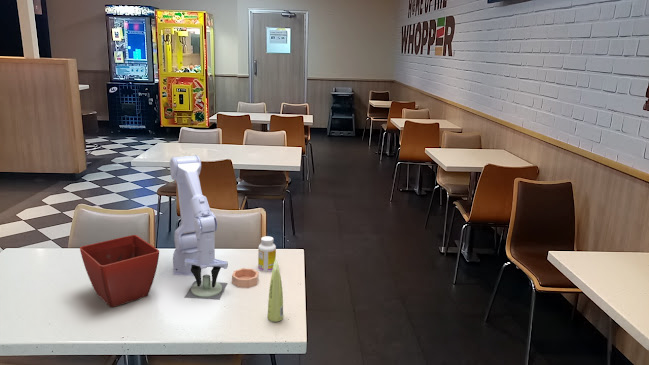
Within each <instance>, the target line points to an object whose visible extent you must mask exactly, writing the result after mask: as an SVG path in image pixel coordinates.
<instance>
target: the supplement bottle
mask: <svg viewBox="0 0 649 365" xmlns="http://www.w3.org/2000/svg"><path fill="white" fill-rule="evenodd" d="M257 251H258V255H257V256H258V257H257V259H258V261H257V262H258V264H257V267H258V270H259V271H260V272H263V273H270V272H271V273H272V270H273V265H274V261H275V257H276V258H277V255H276V254H277V246H276V244H275V243H274V237H272V236H268V235H267V236H265V235H264V236H262V237H261V238H260V243H259V245H258V250H257Z"/></svg>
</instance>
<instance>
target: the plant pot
mask: <svg viewBox="0 0 649 365" xmlns="http://www.w3.org/2000/svg"><path fill="white" fill-rule="evenodd" d="M79 252H80V255H81V258H82V262H83V264H84V268H85V271H86V274H87V276H88V278H89V281H90V283H91V286H92V287H93V289H94V290H93V291H94V292H95V293H96V295H97V296H99V297H100V299H102V301H103V302H104V303H105V304H106V305H107V306H108V307H110V308H114V307H117V306H121V305H123V304H127V303H131V302H134V301H136V300H137V301H138V300H139V299H142V298H144V297H147V296H148V295H149V294H150V292H151V288H152V285H153V283H154V280H155V277H156V272H157V269H158V263H159V256H160V250H159V249H158V248H156V247H154V246H153V245H152V244H151V243H148V241H146V240H145V239H143V238H141V237H140V236H138V235H137V234H131V235H127V236H123V237H118V238H114V239H108V240H105V241H100V242H95V243H92V244H87V245H86V244H85V245H82V246H80V247H79Z"/></svg>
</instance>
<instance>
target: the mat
mask: <svg viewBox="0 0 649 365" xmlns="http://www.w3.org/2000/svg"><path fill="white" fill-rule="evenodd" d="M193 281H194V282H193V283H192V285H190V288H189V289H188V291H187V292H186V294H185V295H184V298H187V299H202V300H213V301H214V300H215V301H218V300H219V301H220V300H221V298H222V296H223V293H224V291H225V289H226V287H227V285H228V282H218V281H217V282H218V283H220V284H221V286H222V291H221V292H220V293H219V294H218V295H215V296H212V297H197V296H195V295H193V294H192V292H191V288H192V286H193V285H194V284H196V283H197V282H196V280H193ZM202 281H203V280H201V282H202Z"/></svg>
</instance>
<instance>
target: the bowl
mask: <svg viewBox="0 0 649 365" xmlns="http://www.w3.org/2000/svg"><path fill="white" fill-rule="evenodd" d="M259 274H260V272H258V270H255V269H254V268H248V267H247V268H245V267H243V268H239V269H236V270H234V271H233V273H232V275H231V284H233V286H235V287H237V288H242V289H243V288H245V289H249V288H252V287H256V286H257V285H258V283H259V277H260V276H259Z"/></svg>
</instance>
